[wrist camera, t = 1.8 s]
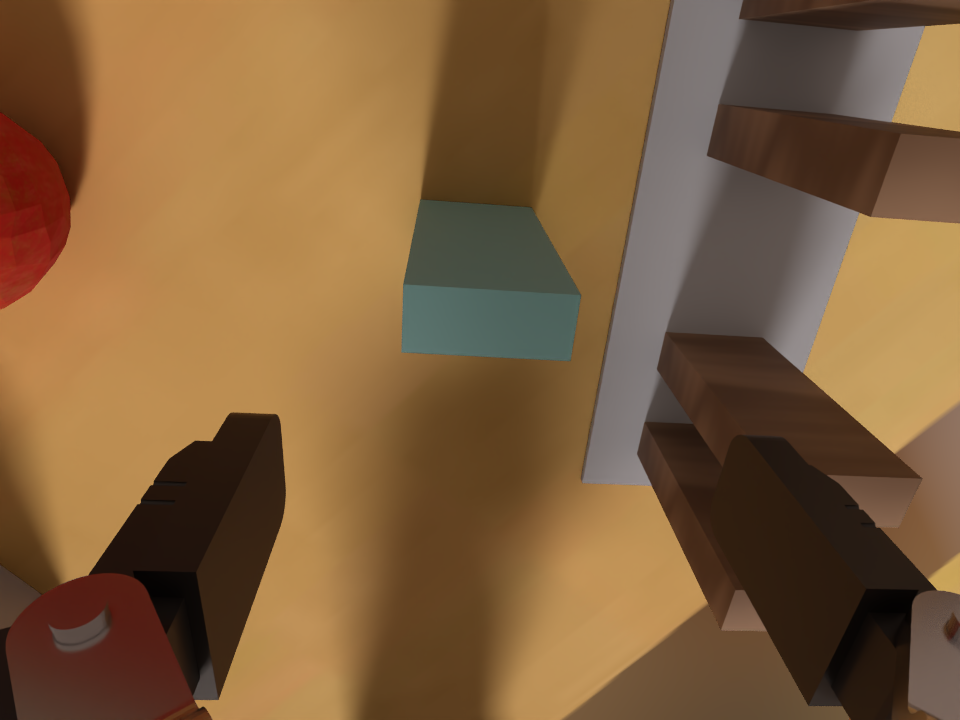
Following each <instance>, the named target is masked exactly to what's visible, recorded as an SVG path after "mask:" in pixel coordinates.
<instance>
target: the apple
mask: <svg viewBox="0 0 960 720" xmlns="http://www.w3.org/2000/svg"><path fill="white" fill-rule="evenodd" d="M70 227H71V224H70V197H69V194H68V191H67V188H66V185H65V183H64V180H63V177H62V174H61V172H60V169H59V166H58V164H57V162H56V160H55V159H54V158H53V157H52V155H51V154H50V153H49V152H48V150H47V149H46V148H45V147H44V145H43V144H42V143H41V141H39V140H38V139H36V138H35V137H34V136H32V135H31V134H30V133H28V132H27V131H26V130H24V129H23V128H21V127H20V126H19V125H17V124H16V123H15V122H13V121H12V120H11V119H9V118H8V117H6V116H5V115H4V114H2V113H1V112H0V309H3V308H5V307H7V306H8V305H10V304H12V303H13V302H15V301H16V300H18V299H20V298H21V297H23V296H25V295H26V294H28V293H29V292H31V291H32V289H33V288H34V287H35V286H36V285H37V284H38V282H39V281H40V280H41V279H42V278H43V276H44V275H45V274H46V273H47V272H48V270H49V269H50V268H51V267H52V266H53V265H54V263H55V262H56V260H57V258H58V257H59V255H60V253H61V252H62V250H63V248H64V247H65V245H66V241H67V238H68V234H69V231H70Z"/></svg>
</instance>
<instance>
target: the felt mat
mask: <svg viewBox="0 0 960 720" xmlns="http://www.w3.org/2000/svg"><path fill="white" fill-rule="evenodd" d="M742 2H743V0H671V3H670V9H669V14H668V19H667V25H666V30H665V35H664V41H663V46H662V51H661V56H660V62H659V67H658V72H657V78H656V83H655V88H654V94H653V99H652V104H651V109H650V115H649V120H648V125H647V131H646V136H645V141H644V147H643V152H642V157H641V163H640V168H639V173H638V178H637V184H636V189H635V194H634V200H633V205H632V210H631V216H630V221H629V226H628V231H627V237H626V242H625V247H624V253H623V258H622V263H621V269H620V274H619V279H618V284H617V290H616V295H615V300H614V306H613V311H612V316H611V322H610V327H609V332H608V337H607V343H606V348H605V353H604V359H603V364H602V369H601V375H600V380H599V385H598V390H597V396H596V401H595V406H594V412H593V417H592V422H591V428H590V433H589V438H588V444H587V449H586V454H585V459H584V465H583V470H582V475H581V480H582V483H593V484H620V485H648V486H652V485H651V483H650V481H649V479H648V476H647V474H646V472H645V470H644V468H643V466H642V464H641V462H640V460H639V458H638V455H637V451H638V447H639V443H640V438H641V434H642V430H643V426H644V422H663V423H685V424H693V423H692V421H691V420H690V418H689V417H688V415H687V414H686V412H685V411H684V409H683V408H682V406H681V405H680V403H679V402H678V400H677V399H676V397H675V396H674V394H673V393H672V391H671V390H670V389H669V387H668V386H667V384H666V383H665V381H664V380H663V378H662V377H661V375H660V374H659V372H658V371H657V366H658V362H659V357H660V353H661V349H662V345H663V340H664V336H665V332H674V333H692V334H710V335H727V336H745V337H762V338H764V339H765V340H766V341H767V342H768V343H769V344H771V345H772V346H773V347H774V348H775V349H776V350H777V351H778V352H780V353H781V354H782V355H783V356H784V357H785V358H786V359H788V360H789V361H790V362H791V363H792V364H793V365H794V366H795V367H797V368H798V369H799V370H800V371H801V372H802V373H803V371H804V368H805V365H806V362H807V360H808V357H809V354H810V351H811V348H812V345H813V343H814V340H815V337H816V334H817V331H818V328H819V325H820V323H821V320H822V317H823V314H824V311H825V308H826V306H827V303H828V300H829V297H830V294H831V291H832V289H833V286H834V283H835V280H836V277H837V274H838V272H839V269H840V266H841V263H842V260H843V257H844V255H845V252H846V249H847V246H848V243H849V240H850V238H851V235H852V232H853V229H854V226H855V223H856V221H857V218H858V215H859V212H856V211H854V210H851V209H848V208H846V207H843V206H840V205H837V204H835V203H832V202H829V201H827V200H824V199H821V198H819V197H816V196H813V195H811V194H808V193H805V192H802V191H800V190H797V189H794V188H792V187H789V186H786V185H784V184H781V183H778V182H775V181H773V180H770V179H767V178H765V177H762V176H759V175H757V174H754V173H751V172H749V171H746V170H743V169H740V168H738V167H735V166H732V165H730V164H727V163H724V162H722V161H719V160H716V159H713V158H711V157H708V156H707V152H708V147H709V143H710V139H711V134H712V130H713V126H714V122H715V117H716V113H717V109H718V104H724V105H735V106H747V107H758V108H770V109H781V110H793V111H804V112H816V113H827V114H836V115H843V116H850V117H858V118H865V119H872V120H879V121H886V122H891V121H892V118H893V116H894V113H895V110H896V107H897V104H898V101H899V99H900V96H901V93H902V90H903V87H904V84H905V82H906V79H907V76H908V73H909V70H910V67H911V65H912V62H913V59H914V56H915V53H916V50H917V48H918V45H919V42H920V39H921V36H922V33H923V31H924V28H925V26H918V27H904V28H890V29H877V30H863V31H855V30H845V29H834V28H824V27H814V26H804V25H794V24H784V23H774V22H763V21H753V20H743V19H739V15H740V11H741V6H742Z"/></svg>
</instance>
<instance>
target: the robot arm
mask: <svg viewBox="0 0 960 720" xmlns="http://www.w3.org/2000/svg"><path fill="white" fill-rule="evenodd" d="M285 497H286V487H285V474H284V461H283V448H282V436H281V424H280V420H279V417H278V415H276V414H256V413H230V414H229V415H228V416H227V418H226V420H225V421H224V423H223V424H222V426H221V428H220V429H219V431H218V433H217V434H216V436H215V437H214V439H213V441H194V442H193V443H191V444H190V445H188V446H187V447H185V448H184V449H183V450H181V451H180V452H178V453H177V454H175V455H174V456H173V457H171V458H170V459H169V460H168V461H167V463H166V464H165V466H164V467H163V468H162V470H161V471H160V473H159V474H158V476H157V477H156V478H155V480H154V484H153V485H151V486H150V487H149V489H148V490H147V491H146V493H145V494H144V496H143V497H142V499H141V503H140V504H137V506H136V507H135V509H134V510H133V512H132V513H131V514H130V516H129V517H128V519H127V520H126V522H125V523H124V525H123V526H122V527H121V529H120V530H119V532H118V533H117V535H116V536H115V538H114V539H113V540H112V542H111V543H110V545H109V546H108V548H107V549H106V550H105V552H104V553H103V555H102V556H101V558H100V559H99V561H98V562H97V563H96V565H95V566H94V568H93V569H92V571H91V572H90V574H89V575H88V576H84V577H80V578H77V579H74V580H71V581H68V582H66V583H64V584H61V585H59V586H57V587H55V588H53V589H51V590H50V591H48V592H46V593H45V594H43V595H42V596H40V597H39V598H37V599H36V600H35V601H33V602H32V603H31V604H30V605H29V606H27V607H26V608H25V609H24V610H23V612H22V613H21V614H20V615H19V616H18V617H17V619H16V620H15V621H14V623H13V624H12V626H11V627H7V628H3V629H0V720H212V718H211V716H210V714H209V713H208V711H207V710H206V708H205V707H202V708H200V709H199V708H198V706H197V704H196V702H195V700H219V697H220V694H221V691H222V688H223V686H224V683H225V680H226V677H227V674H228V672H229V669H230V666H231V663H232V660H233V658H234V655H235V652H236V649H237V646H238V644H239V641H240V638H241V635H242V632H243V630H244V627H245V624H246V621H247V618H248V616H249V613H250V610H251V607H252V604H253V602H254V599H255V596H256V593H257V590H258V588H259V585H260V582H261V579H262V576H263V574H264V571H265V568H266V565H267V562H268V560H269V557H270V554H271V551H272V548H273V546H274V543H275V540H276V537H277V534H278V532H279V529H280V526H281V523H282V519H283V514H284V508H285ZM710 518H711V526H712V530H713V534H714V536H715V538H716V540H717V542H718V544H719V546H720V548H721V549H722V551H723V553H724V555H725V556H726V558H727V560H728V562H729V564H730V565H731V567H732V569H733V571H734V573H735V574H736V576H737V578H738V580H739V582H740V583H741V585H742V587H743V589H744V591H745V592H746V594H747V596H748V598H749V600H750V601H751V603H752V605H753V607H754V609H755V610H756V612H757V614H758V616H759V618H760V619H761V621H762V623H763V625H764V627H765V628H766V630H767V632H768V634H769V635H770V637H771V639H772V641H773V643H774V645H775V646H776V648H777V650H778V652H779V654H780V655H781V657H782V659H783V661H784V663H785V664H786V666H787V668H788V670H789V672H790V673H791V675H792V677H793V679H794V681H795V682H796V684H797V686H798V688H799V690H800V691H801V693H802V695H803V697H804V699H805V700H806V702H807V704H808V705H809V706H843V708H844V709H845V711H846V713H847V714H848V716H849V719H848V720H960V595H959V594H956V593H952V592H946V591H937V590H936V588H935V587H934V586H933V585H932V584H931V583H930V582H929V581H928V580H927V579H926V578H925V576H924V575H923V574H922V573H921V572H920V571H919V570H918V569H917V568H916V567H915V566H914V564H913V563H912V562H911V561H910V560H909V559H908V558H907V557H906V556H905V555H904V554H903V553H902V551H901V550H900V549H899V548H898V547H897V546H896V545H895V544H894V543H893V542H892V540H890V538H889V537H888V536H887V535H886V534H885V533H884V532H883V531H882V530H881V529H880V528H876V526H875V524H876V523H875V522H874V521H873V520H872V519H871V518H870V517H869V515H868V514H867V513H866V512H865V511H864V510H860V509H859V505H858V503H857V502H856V501H855V500H854V499H853V498H852V497H851V496H850V495H849V494H848V493H847V491H846V490H845V489H844V488H843V487H842V486H841V485H840V484H839V483H838V482H836V481H835V480H833V479H832V478H830V477H829V476H827V475H826V474H824V473H823V472H821V471H820V470H818V469H817V468H815V467H814V466H812V465H808V464H807V462H806V461H805V460H804V459H803V458H802V457H801V456H800V454H799V453H798V452H797V451H796V450H795V449H794V448H793V447H792V445H791V444H790V443H789V442H788V441H787V440H786V439H785V438H783V437H781V436H763V435H737V436H735V437H734V438H733V440H732V441H731V443H730V445H729V448H728V451H727V455H726V458H725V461H724V464H723V468H722V471H721V474H720V477H719V480H718V484H717V487H716V490H715V493H714V496H713V500H712V503H711V511H710Z"/></svg>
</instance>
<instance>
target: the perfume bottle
mask: <svg viewBox="0 0 960 720" xmlns="http://www.w3.org/2000/svg"><path fill="white" fill-rule="evenodd" d="M40 596H42V594H40V593H39V592H37V591H36V590H35V589H33V588H32V587H30V586H29V585H28V584H26V583H25V582H23V581H22V580H21V579H19V578H18V577H17V576H15V575H14V574H12V573H11V572H10V571H8V570H7V569H5V568H4V567H3V566H1V565H0V629H3V628H7V627H11V626H12V624H13V623H14V621H15V620H16V619H17V617H18V616H19V615H20V614H21V613H22V612H23V610H24V609H25V608H26V607H27V606H29V605H30V604H31V603H32V602H33V601H35V600H36V599H37V598H39V597H40Z"/></svg>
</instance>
